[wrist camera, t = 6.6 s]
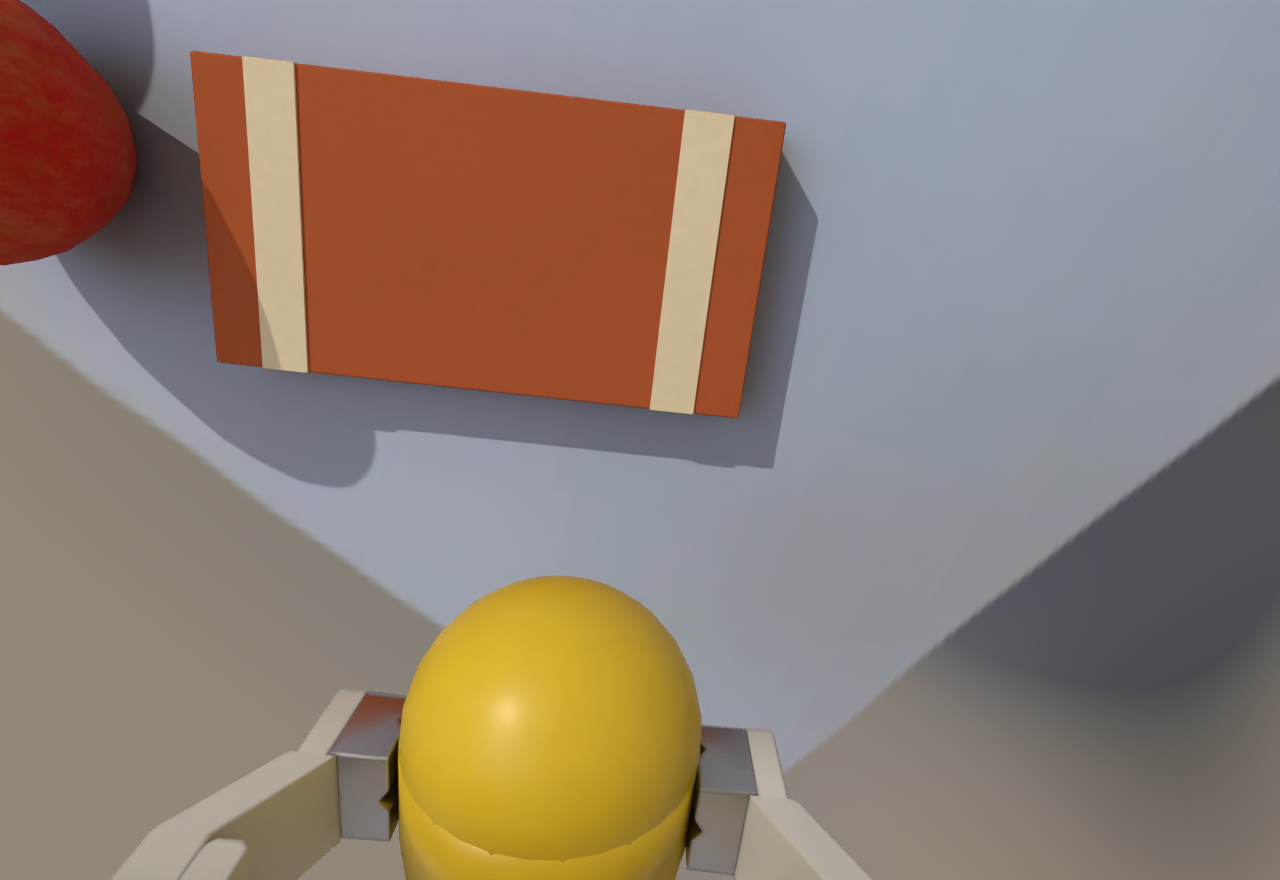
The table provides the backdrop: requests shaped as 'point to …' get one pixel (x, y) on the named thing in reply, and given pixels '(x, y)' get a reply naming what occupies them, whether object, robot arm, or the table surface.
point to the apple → (55, 141)
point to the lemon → (549, 741)
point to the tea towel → (482, 234)
